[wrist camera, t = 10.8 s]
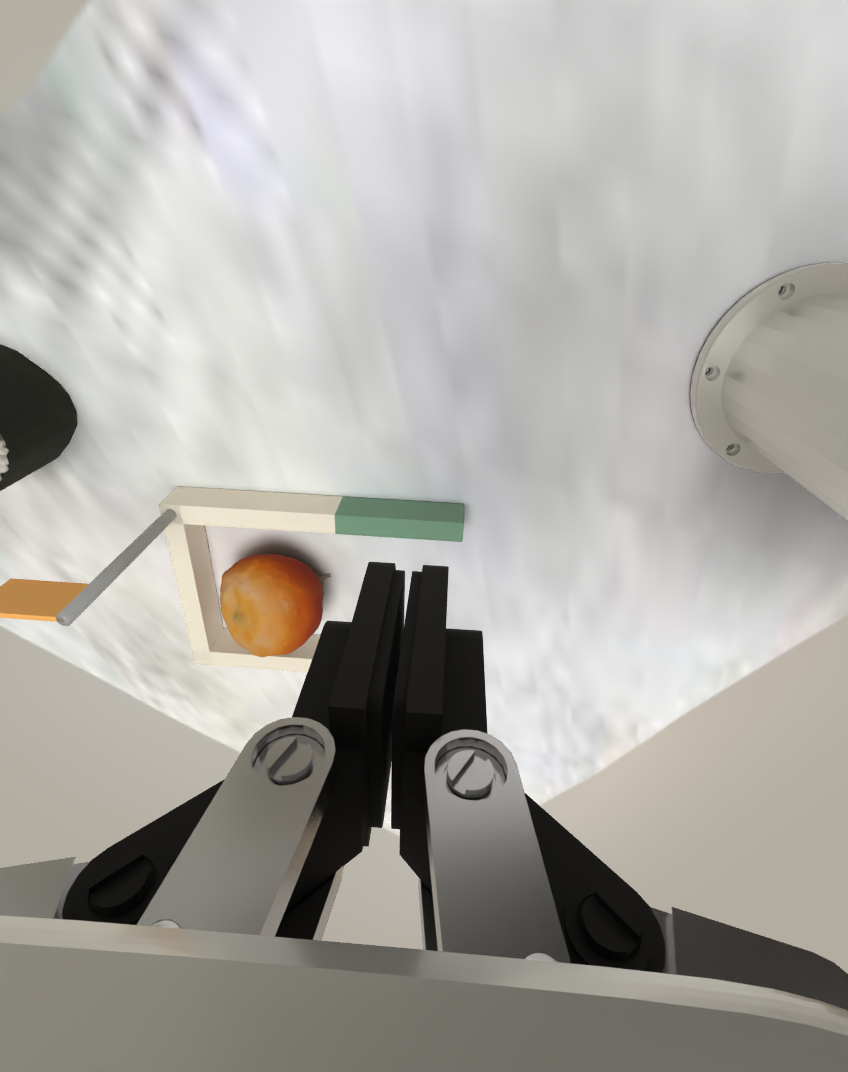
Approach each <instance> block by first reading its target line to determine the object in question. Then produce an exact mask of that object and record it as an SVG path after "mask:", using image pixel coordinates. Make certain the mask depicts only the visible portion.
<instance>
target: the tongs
mask: <svg viewBox="0 0 848 1072" xmlns="http://www.w3.org/2000/svg"><path fill="white" fill-rule="evenodd" d="M159 508H160V513H161V516H160V517H159V518H158V519H157V520H156V521H155V522H154V523H152V524H151V525H150V526H149V527H148V528H147V529H146V530H145V531H144V532H143V533H142V534H141V535H140V536H139V537H138V538H137V539H136V540H135V541H134V542H133V543H132V544H131V545H129V546H128V547H127V548H126V549H125V550H124V551H123V552H122V553H121V554H120V555H119V556H118V557H117V558H116V559H115V560H114V561H113V562H112V563H111V564H110V565H109V566H108V567H106V568H105V569H104V570H103V571H102V572H101V573H100V574H99V575H98V576H97V577H96V578H95V579H94V580H93V581H92V582H91V583H90V584H82V583H67V582H52V581H38V580H23V579H10V580H8V581H7V582H6V583H5V584H3V585H2V586H1V587H0V618H14V619H28V620H42V621H56V622H58V623H60V624H61V625H64V626H69V625H70V624H71V623H72V622H73V621H74V620H75V619H76V618H77V617H78V616H79V615H80V614H81V613H82V612H83V611H84V610H85V609H86V608H87V607H88V606H89V605H90V604H91V603H92V602H93V601H94V600H95V599H96V598H97V597H98V596H99V595H100V594H101V593H102V592H103V591H104V590H105V589H106V588H107V587H108V586H109V585H110V584H111V583H112V582H113V581H114V580H115V579H116V578H117V577H118V576H119V575H120V574H121V573H122V572H123V571H124V570H125V569H126V568H127V567H128V566H129V565H130V564H131V563H132V562H133V561H134V560H135V559H136V558H137V557H138V556H139V554H140V553H141V552H142V551H143V550H144V549H145V548H146V547H147V546H148V545H149V544H150V543H151V542H152V541H153V540H154V539H155V538H156V537H157V536H158V535H159V534H160V533H161V532H162V531H163V530H164V531H165V535H166V539H167V544H168V548H169V553H170V557H171V561H172V566H173V570H174V575H175V579H176V584H177V588H178V592H179V597H180V601H181V606H182V610H183V614H184V619H185V623H186V628H187V632H188V637H189V641H190V645H191V650H192V654H193V659H194V663H195V664H200V665H213V666H227V667H241V668H254V669H268V670H282V671H295V672H308V670H309V667H310V664H311V661H312V659H313V656H314V653H315V650H316V647H317V644H318V641H319V638H320V636H321V635H312V636H311V637H310V638H309V639H308V640H307V641H306V642H305V643H304V644H303V645H302V646H301V647H299V648H298V649H296V650H295V651H293V652H291V653H289V654H285V655H277V656H266V657H259V656H255V655H252V654H251V653H250V652H249V651H248V650H247V649H245V648H243V647H241V646H239V645H238V644H237V643H236V642H235V640H234V639H233V638H232V636H231V634H230V633H229V630H228V629H223V624H222V618H221V613H220V608H219V602H218V597H217V591H216V586H215V580H214V575H213V569H212V564H211V559H210V553H209V548H208V542H207V537H206V531H205V526H204V525H206V526H222V527H238V528H253V529H269V530H285V531H300V532H316V533H332V534H347V535H363V536H379V537H394V538H410V539H426V540H441V541H457V542H462V539H463V527H464V504H457V503H441V502H425V501H408V500H392V499H376V498H359V497H343V496H327V495H310V494H294V493H278V492H262V491H245V490H229V489H213V488H196V487H180V486H178V487H177V488H175V489H174V490H173V491H172V492H171V493H170V494H169V495H168V496H167V497H166V498H164V499H163V500H162V501H161V502H160V503H159Z"/></svg>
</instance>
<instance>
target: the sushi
mask: <svg viewBox="0 0 848 1072" xmlns="http://www.w3.org/2000/svg"><path fill="white" fill-rule="evenodd" d="M76 426H77V420H76V410H75V408H74V406H73V404H72V402H71V400H70V397H69V395H68V394H67V393H66V391H65V390H64V389H63V388H62V386H61V385H60V384H59V383H58V382H57V381H56V380H54V379H53V378H52V377H51V376H50V375H49V374H47V373H46V372H45V371H44V370H42V369H41V368H40V367H38V366H37V365H35V364H34V363H33V362H31V361H30V360H29V359H27V358H26V357H25V356H23V355H22V354H20V353H19V352H18V351H15V350H13V349H11V348H8V347H6V346H3V345H0V491H1V490H3V489H5V488H6V487H8V486H10V485H12V484H13V483H15V482H17V481H18V480H20V479H22V478H24V477H25V476H27V475H29V474H31V473H32V472H34V471H36V470H38V469H39V468H41V467H43V466H45V465H46V464H48V463H50V462H51V461H53V460H54V459H56V458H58V457H59V455H60V454H61V453H62V451H63V450H64V449H65V448H66V446H67V445H68V444H69V442H70V439H71V437H72V435H73V433H74V430H75V428H76Z"/></svg>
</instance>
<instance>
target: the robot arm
mask: <svg viewBox="0 0 848 1072" xmlns="http://www.w3.org/2000/svg"><path fill="white" fill-rule="evenodd" d="M781 286H783V290H782V292H781V293H779V294H778V292H779V289H780V288H781ZM709 368H711V370H710V372H709V373H708V374H705V372H706V371H707V369H709ZM690 398H691V411H692V415H693V418H694V421H695V424H696V427H697V429H698V431H699V432H700V434H701V436H702V438H703V439H704V441H705V442H706V443H707V444H708V445H709V446H710V447H711V448H712V449H713V450H714V451H715V452H716V453H717V454H718V455H720V456H721V457H722V458H723V459H725V460H726V461H728V462H730V463H732V464H734V465H736V466H738V467H740V468H743V469H747V470H751V471H755V472H762V473H784V472H785V473H786V474H787V475H789V476H790V477H791V478H792V479H794V480H795V481H796V482H798V483H799V484H800V485H802V486H803V487H804V488H805V489H807V490H808V491H809V492H811V493H812V494H813V495H815V496H816V497H817V498H818V499H820V500H821V501H822V502H824V503H825V504H826V505H828V506H829V507H830V508H831V509H833V510H834V511H835V512H837V513H838V514H839V515H841V516H842V517H843V518H844V519H846V520H847V521H848V263H828V262H827V263H820V264H814V265H807V266H803V267H800V268H797V269H794V270H791V271H788V272H785V273H782V274H780V275H778V276H776V277H774V278H772V279H771V280H769V281H767V282H765V283H763V284H761V285H759V286H758V287H757V288H755V289H754V290H753V291H751V292H750V293H749V294H747V295H746V296H745V297H743V298H742V299H740V300H739V301H738V302H737V303H736V304H735V305H734V306H733V307H732V308H731V309H730V310H729V311H728V312H727V313H726V314H725V315H724V316H723V318H722V319H721V320H720V322H719V323H718V324H717V326H716V327H715V328H714V330H713V331H712V332H711V334H710V335H709V337H708V339H707V341H706V343H705V345H704V346H703V348H702V350H701V352H700V354H699V357H698V360H697V363H696V366H695V369H694V372H693V376H692V383H691V391H690ZM729 445H731V446H730V447H728V446H729ZM727 447H728V448H727ZM447 590H448V567H446V566H430V565H423V569H422V572H417V571H413V572H412V577H411V584H410V591H409V598H408V604H407V611H406V618H405V625H404V593H405V571H400V570H396V567H395V563H381V562H369V563H368V566H367V570H366V574H365V577H364V581H363V584H362V588H361V591H360V595H359V599H358V602H357V606H356V609H355V613H354V616H353V620H352V622H339V621H327V622H326V623H325V625H324V627H323V630H322V633H321V636H320V638H319V641H318V644H317V647H316V650H315V653H314V656H313V659H312V661H311V664H310V667H309V670H308V673H307V676H306V679H305V681H304V684H303V687H302V690H301V693H300V696H299V699H298V702H297V704H296V707H295V710H294V713H293V716H292V718H286V719H280V720H278V721H275V722H273V723H270V724H268V725H266V726H265V727H263V728H262V729H261V730H259V731H258V732H256V733H255V734H254V735H253V737H252V738H251V739H250V740H249V741H248V743H247V744H246V745H245V747H244V749H243V750H242V752H241V754H240V755H239V757H238V759H237V761H236V762H235V764H234V765H233V767H232V768H231V770H230V772H229V773H228V775H227V777H226V778H225V780H223V781H221V782H219V783H218V784H216V785H214V786H212V787H211V788H209V789H207V790H206V791H204V792H202V793H201V794H199V795H197V796H196V797H194V798H192V799H190V800H189V801H187V802H186V803H184V804H182V805H180V806H179V807H177V808H175V809H173V810H172V811H170V812H169V813H167V814H165V815H163V816H162V817H160V818H158V819H157V820H155V821H153V822H152V823H150V824H148V825H147V826H145V827H143V828H141V829H140V830H138V831H136V832H135V833H133V834H131V835H129V836H128V837H126V838H124V839H123V840H121V841H119V842H118V843H116V844H114V845H112V846H111V847H109V848H108V849H106V850H105V851H103V852H102V853H101V854H99V855H98V856H97V857H95V858H94V859H92V861H90V862H85V863H80V864H79V863H78V861H77V859H76V857H72V858H65V859H58V860H51V861H45V862H38V863H31V864H25V865H18V866H11V867H4V868H0V1072H848V974H847V973H846V972H845V971H843V970H842V969H841V968H840V967H839V966H837V965H836V964H835V963H834V962H832V961H830V960H828V959H826V958H823V957H821V956H819V955H817V954H815V953H813V952H811V951H808V950H804V949H801V948H798V947H795V946H792V945H789V944H786V943H783V942H779V941H776V940H773V939H770V938H767V937H764V936H761V935H758V934H754V933H752V932H749V931H745V930H742V929H739V928H736V927H733V926H730V925H727V924H724V923H721V922H718V921H714V920H711V919H708V918H705V917H702V916H699V915H696V914H693V913H690V912H687V911H683V910H680V909H677V908H674V907H671V909H670V911H669V913H667V912H663V911H661V910H657V909H654V908H651V907H650V906H649V905H648V904H647V903H646V902H645V901H644V900H643V899H642V898H641V896H640V895H639V894H638V893H637V892H636V891H635V890H634V889H633V888H632V887H630V886H629V885H628V884H627V883H626V882H624V881H623V880H622V879H621V878H620V877H619V876H618V875H617V874H616V873H614V872H613V871H612V870H611V869H610V868H609V867H608V866H607V865H606V864H604V863H603V862H602V861H601V860H600V859H599V858H598V857H597V856H595V855H594V854H593V853H592V852H591V851H590V850H589V849H588V848H586V847H585V846H584V845H583V844H582V843H581V842H580V841H579V840H577V839H576V838H575V837H574V836H573V835H572V834H570V833H569V832H568V831H567V830H566V829H565V828H564V827H563V826H561V825H560V824H559V823H558V822H557V821H556V820H555V819H554V818H552V817H551V816H550V815H549V814H548V813H547V812H546V811H545V810H544V809H542V808H541V807H540V806H539V805H538V804H537V803H536V802H535V801H533V800H532V799H531V798H530V797H529V796H528V795H527V794H526V793H524V789H523V786H522V782H521V778H520V775H519V771H518V767H517V764H516V762H515V760H514V757H513V755H512V753H511V752H510V751H509V749H508V748H507V747H506V746H505V745H504V744H503V743H502V742H501V741H499V740H498V739H496V738H495V737H493V736H492V735H489V734H487V717H486V696H485V676H484V655H483V636H482V631H476V630H461V629H446V614H447ZM391 761H392V797H391V828H392V829H400V855H401V857H402V858H403V859H404V860H405V861H406V863H407V864H408V865H409V866H410V867H411V869H412V870H413V871H414V872H415V873H416V875H417V876H418V877H419V885H418V887H419V900H420V914H421V926H422V941H423V950H418V949H408V948H397V947H396V948H395V947H385V946H374V945H362V944H352V943H340V942H328V941H321V940H322V936H323V934H324V931H325V927H326V925H327V922H328V918H329V916H330V912H331V910H332V907H333V903H334V900H335V898H336V895H337V892H338V889H339V886H340V883H341V879H342V874H343V868H344V865H345V864H347V863H348V862H349V861H350V860H352V859H353V858H354V857H355V856H356V855H358V854H359V853H360V852H362V849H363V846H369V840H370V833H371V827H378V828H382V826H383V820H384V813H385V805H386V798H387V791H388V783H389V776H390V768H391Z"/></svg>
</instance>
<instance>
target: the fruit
mask: <svg viewBox="0 0 848 1072" xmlns="http://www.w3.org/2000/svg"><path fill="white" fill-rule="evenodd" d="M330 575H331V574H328V575H325V576H321V577H320V576H317V574H316V572H315V571H314V570H313V569H311V568H310V567H309V566H307V565H306V564H304V563H303V562H301V561H299V560H297V559H295V558H293V557H289V556H284V555H279V554H274V553H271V554H259V555H253V556H249V557H246V558H243V559H241V560H239V561H238V562H236V563H235V564H234V565H233V566H232V567H231V568H230V569H228V570H227V571H225V572H224V574H223V575H222V584H221V588H220V592H221V596H220V601H221V611H222V615H223V618H224V620H225V623H226V625H227V628H228V630H229V633H230V634H231V636H232V638H233V639H234V640H235V642H236V643H237V644H238V645H239V646H241V647H243V648H245V649H247V650H248V651H249V652H250V653H251V654H252V655H255V656H259V657H266V656H277V655H285V654H289V653H291V652H293V651H295V650H296V649H298V648H299V647H301V646H302V645H303V644H304V643H305V642H306V641H307V640H308V639H309V638H310V637H311V636H312V635H313V633H314V632H315V631H316V630H317V628H318V627H319V625H320V622H321V619H322V610H323V607H322V597H323V581H324V580H325V579H326V578H328V577H331V576H330Z"/></svg>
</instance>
